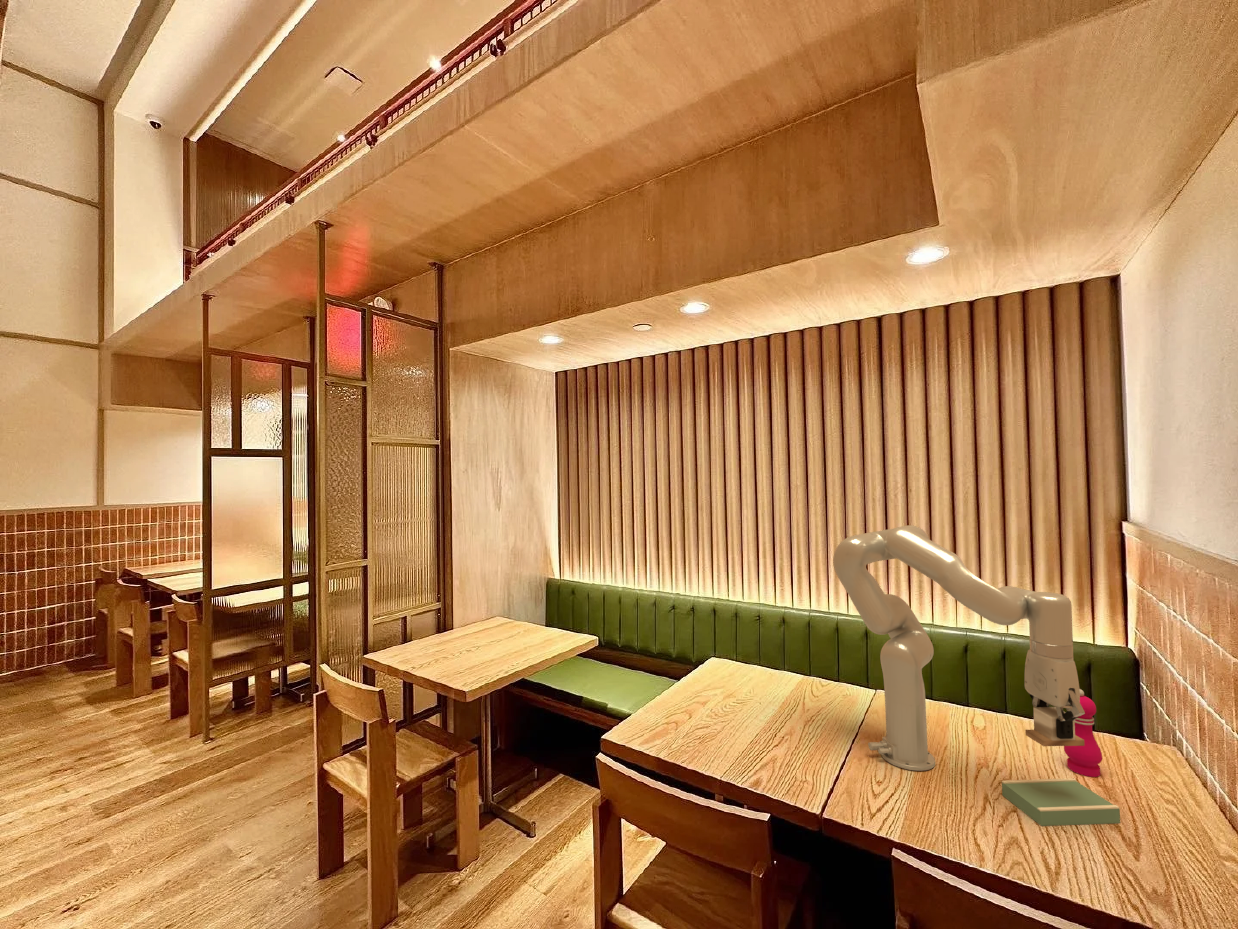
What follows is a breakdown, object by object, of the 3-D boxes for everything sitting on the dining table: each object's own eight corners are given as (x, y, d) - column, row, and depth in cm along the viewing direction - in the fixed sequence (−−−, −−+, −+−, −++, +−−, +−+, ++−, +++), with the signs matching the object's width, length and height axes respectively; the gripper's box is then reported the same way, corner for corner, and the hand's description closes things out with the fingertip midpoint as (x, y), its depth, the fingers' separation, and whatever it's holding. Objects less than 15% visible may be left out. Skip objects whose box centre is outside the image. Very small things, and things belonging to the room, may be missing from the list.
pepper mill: (1057, 763, 135) (1052, 684, 135) (1083, 762, 135) (1078, 683, 136) (1084, 779, 128) (1079, 695, 128) (1111, 777, 128) (1106, 694, 129)
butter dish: (1043, 746, 114) (1042, 717, 115) (1025, 735, 119) (1024, 707, 120) (1084, 745, 115) (1083, 716, 115) (1064, 734, 120) (1063, 707, 120)
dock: (1041, 826, 111) (1040, 810, 111) (1002, 795, 122) (1001, 780, 122) (1120, 823, 111) (1119, 807, 111) (1074, 792, 122) (1073, 778, 122)
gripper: (1006, 638, 126) (1008, 715, 126) (1067, 663, 109) (1070, 752, 108) (1037, 637, 126) (1039, 714, 126) (1103, 662, 109) (1106, 751, 109)
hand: (1053, 731), depth 117 cm, fingers closed on butter dish, 5 cm apart
